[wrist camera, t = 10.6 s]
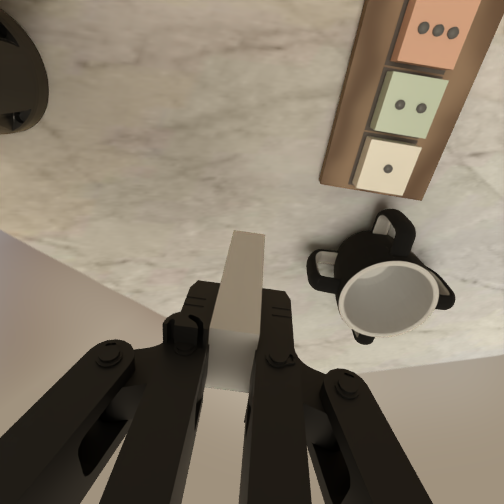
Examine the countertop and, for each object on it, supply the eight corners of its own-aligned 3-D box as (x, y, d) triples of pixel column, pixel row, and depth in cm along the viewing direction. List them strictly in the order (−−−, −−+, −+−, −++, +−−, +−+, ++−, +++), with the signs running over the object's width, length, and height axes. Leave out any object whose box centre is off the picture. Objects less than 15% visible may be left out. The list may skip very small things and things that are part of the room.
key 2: (369, 127, 39) (375, 130, 36) (386, 71, 36) (394, 71, 33) (417, 135, 39) (426, 139, 36) (439, 80, 36) (450, 80, 33)
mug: (432, 272, 51) (472, 324, 40) (339, 309, 56) (353, 363, 45) (397, 187, 44) (434, 222, 34) (296, 237, 49) (300, 280, 39)
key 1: (352, 182, 42) (356, 188, 40) (366, 135, 39) (372, 139, 37) (396, 189, 42) (403, 196, 40) (414, 143, 39) (422, 148, 37)
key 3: (390, 61, 35) (398, 60, 33) (411, -7, 32) (421, -14, 30) (442, 70, 35) (454, 69, 33) (468, 3, 32) (483, -3, 30)
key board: (318, 179, 44) (320, 184, 43) (370, -20, 34) (375, -26, 32) (416, 195, 45) (421, 201, 43) (498, 2, 34) (511, -3, 32)
